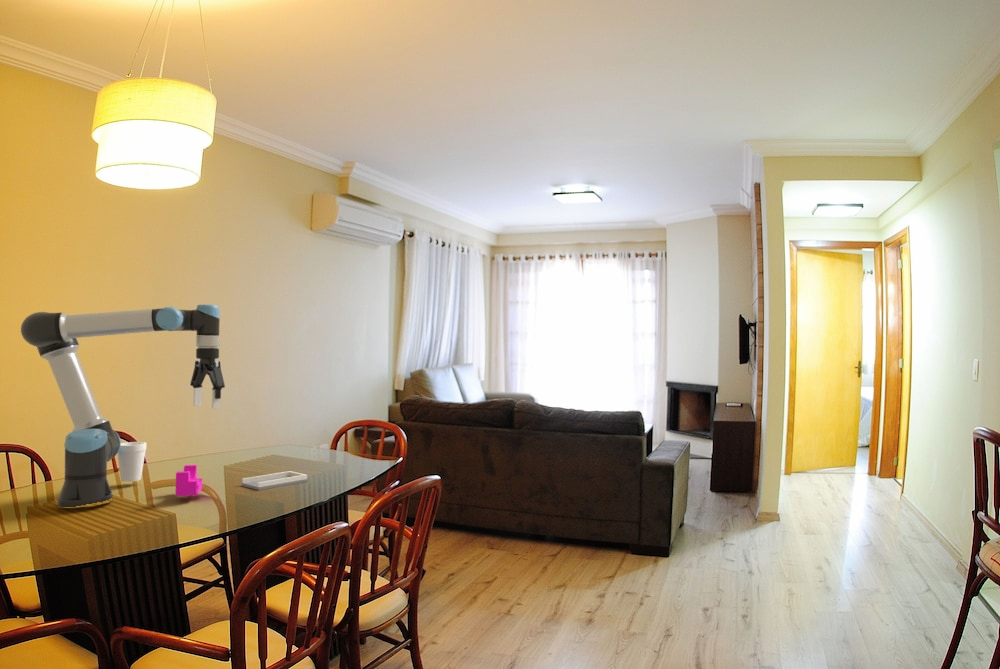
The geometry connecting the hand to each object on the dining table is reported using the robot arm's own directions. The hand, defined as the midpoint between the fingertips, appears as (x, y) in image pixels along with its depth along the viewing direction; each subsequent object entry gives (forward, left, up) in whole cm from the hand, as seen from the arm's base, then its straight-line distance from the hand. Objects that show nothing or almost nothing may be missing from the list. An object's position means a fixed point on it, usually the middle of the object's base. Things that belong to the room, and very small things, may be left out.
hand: (206, 407), depth 241 cm
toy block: (-10, -10, -27) cm, 31 cm away
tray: (+14, -22, -27) cm, 37 cm away
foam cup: (-16, +23, -27) cm, 39 cm away
